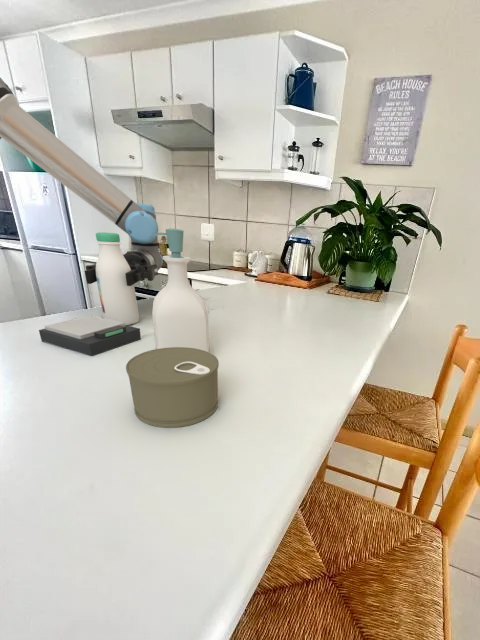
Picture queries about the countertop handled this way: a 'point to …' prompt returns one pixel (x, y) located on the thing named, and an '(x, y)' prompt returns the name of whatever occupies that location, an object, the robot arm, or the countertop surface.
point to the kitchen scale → (89, 334)
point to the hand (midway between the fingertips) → (108, 278)
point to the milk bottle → (114, 281)
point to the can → (174, 386)
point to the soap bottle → (179, 303)
